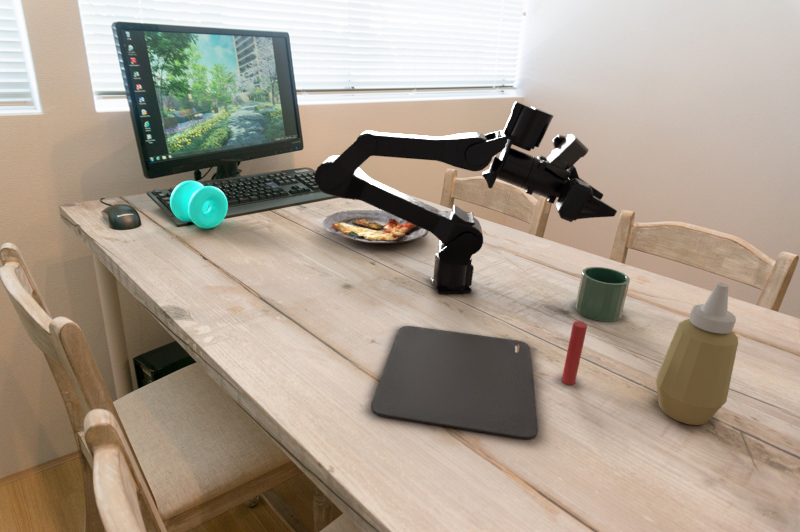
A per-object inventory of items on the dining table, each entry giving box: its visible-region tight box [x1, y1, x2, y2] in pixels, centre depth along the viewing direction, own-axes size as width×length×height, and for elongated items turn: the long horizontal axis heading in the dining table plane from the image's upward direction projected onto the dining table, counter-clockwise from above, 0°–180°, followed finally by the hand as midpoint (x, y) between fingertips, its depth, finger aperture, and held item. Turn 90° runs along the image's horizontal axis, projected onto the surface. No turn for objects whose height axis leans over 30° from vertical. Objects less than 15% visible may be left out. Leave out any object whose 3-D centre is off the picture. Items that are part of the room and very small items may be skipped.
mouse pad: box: [370, 325, 539, 440], centre depth 73 cm, size 23×20×1 cm
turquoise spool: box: [169, 180, 229, 230], centre depth 125 cm, size 10×10×10 cm
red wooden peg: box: [561, 320, 588, 386], centre depth 72 cm, size 2×2×9 cm
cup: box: [574, 266, 631, 323], centre depth 93 cm, size 8×8×7 cm
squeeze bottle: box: [655, 282, 739, 426], centre depth 65 cm, size 8×8×18 cm
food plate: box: [321, 209, 429, 245], centre depth 126 cm, size 25×23×4 cm
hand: (608, 204), depth 92 cm, fingers open, 9 cm apart
